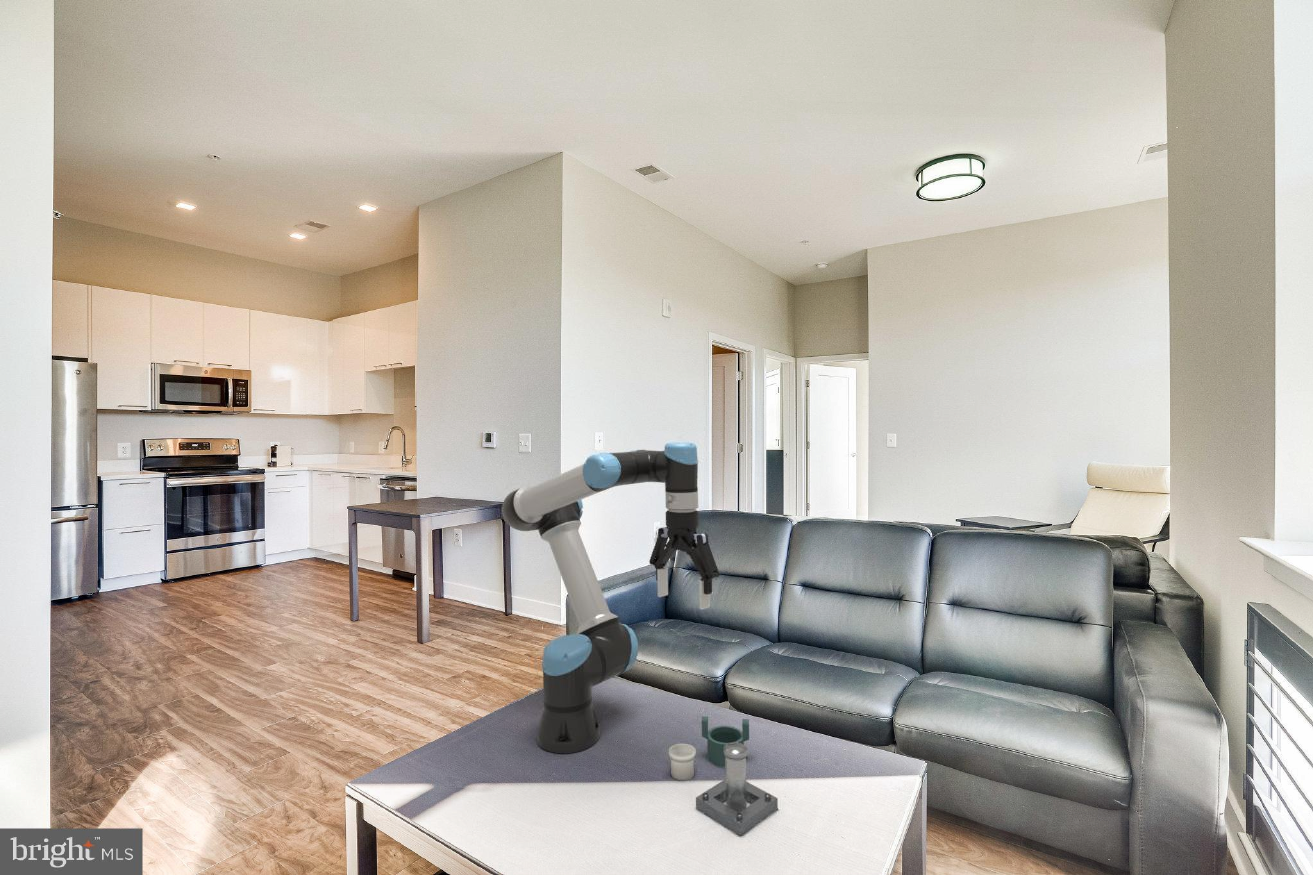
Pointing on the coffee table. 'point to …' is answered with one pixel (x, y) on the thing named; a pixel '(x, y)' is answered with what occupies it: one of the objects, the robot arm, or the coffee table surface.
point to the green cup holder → (723, 739)
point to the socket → (730, 818)
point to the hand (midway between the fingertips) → (683, 601)
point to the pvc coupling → (682, 761)
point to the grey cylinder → (735, 775)
